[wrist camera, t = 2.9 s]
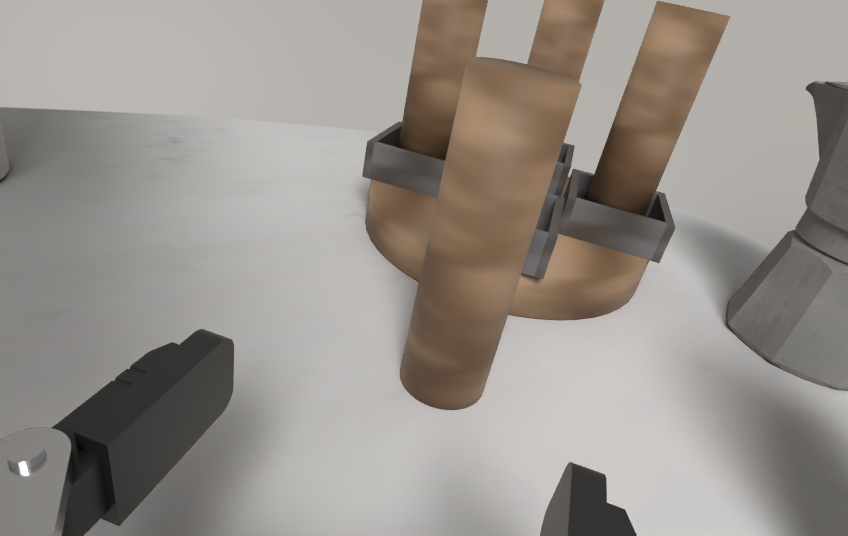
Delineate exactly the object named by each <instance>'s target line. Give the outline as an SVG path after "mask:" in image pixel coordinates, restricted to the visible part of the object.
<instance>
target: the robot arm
mask: <svg viewBox="0 0 848 536" xmlns="http://www.w3.org/2000/svg"><path fill="white" fill-rule="evenodd" d="M9 168H10V165H9V160H8V155H7V150H6V145H5V140H4V135H3V130H2V125H1V120H0V179H2V178H3V177H4V176H5V175H6V174H7V173H8V171H9ZM233 373H234V344H233V341H232V340H231V339H229V338H226V337H223V336H220V335H218V334H215V333H212V332H209V331H206V330H204V329H200V330H198V331H196V332H194V333H193V334H192V335H191V336H190V337H188V338H187V339H186V340H185V341H183V342H182V343H181V344H180V345H178V344H176V343H173V342H172V343H169V344H167V345H164V346H162V347H159V348H157V349H155V350H152V351H150V352H148V353H147V354H145V355H144V356H143V357H142V358H140V359H139V360H138V361H137V362H135V363H134V364H133V365H131V367H130V369H126V370H125V371H124V372H123V373H121V374H120V375H119V376H117V377H116V379H115V381H111V382H110V383H109V384H107V385H106V386H105V387H103V388H102V389H101V390H100V391H98V392H97V393H96V394H95V395H93V396H92V397H91V398H89V399H88V400H87V401H86V402H84V403H83V404H82V405H81V406H79V407H78V408H77V409H75V410H74V411H73V412H72V413H70V414H69V415H68V416H67V417H65V418H64V419H63V420H61V421H60V422H59V423H58V424H56V425H55V426H53V427H52V428H32V429H26V430H23V431H19V432H17V433H14V434H11V435H9V436H7V437H5V438H4V439H2V440H0V536H88V531H89V530H90V529H91V528H92V526H93V525H94V524H95V523H96V522H97V521H98V520H99V519H100V518H102V519H104V520H106V521H109V522H111V523H113V524H115V525H118V526H120V525H121V524H122V523H123V521H124V520H125V519H126V518H127V517H128V516H129V515H130V514H131V513H132V512H133V510H134V509H135V508H136V507H137V506H138V505H139V504H140V503H141V502H142V501H143V499H144V498H145V497H146V496H147V495H148V494H149V493H150V492H151V491H152V490H153V488H154V487H155V486H156V485H157V484H158V483H159V482H160V481H161V480H162V479H163V478H164V476H165V475H166V474H167V473H168V472H169V471H170V470H171V469H172V468H173V467H174V465H175V464H176V463H177V462H178V461H179V460H180V459H181V458H182V457H183V456H184V454H185V453H186V452H187V451H188V450H189V449H190V448H191V447H192V446H193V445H194V443H195V442H196V441H197V440H198V439H199V438H200V437H201V436H202V435H203V434H204V432H205V431H206V430H207V429H208V428H209V427H210V426H211V425H212V424H213V423H214V422H215V420H216V419H217V418H218V417H219V416H220V415H221V414H222V413H223V411H224V410H225V408H226V407H227V405H228V403H229V401H230V398H231V396H232V392H233ZM540 536H637V535H636V533H635V531H634V528H633V526H632V524H631V522H630V520H629V517H628V515H627V513H626V511H625V509H622V508H619V507H617V506H614V505H611V504H609V503H607V490H606V476H605V475H604V474H602V473H599V472H597V471H594V470H591V469H588V468H585V467H583V466H580V465H577V464H574V463H571V462H569V463H568V465H567V467H566V469H565V471H564V473H563V475H562V477H561V479H560V482H559V484H558V486H557V488H556V490H555V492H554V494H553V497H552V499H551V501H550V503H549V505H548V508H547V510H546V513H545V516H544V520H543V524H542V528H541V533H540Z"/></svg>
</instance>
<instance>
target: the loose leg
mask: <svg viewBox="0 0 848 536" xmlns="http://www.w3.org/2000/svg"><path fill="white" fill-rule="evenodd" d="M580 89H581V84H580V83H579V82H577V81H576V80H574V79H572V78H569V77H567V76H564V75H562V74H559V73H556V72H553V71H550V70H546V69H543V68H539V67H535V66H531V65H527V64H522V63H518V62H513V61H507V60H502V59H494V58H486V57H471V58H468V59H467V62H466V67H465V72H464V76H463V81H462V86H461V90H460V95H459V100H458V104H457V109H456V114H455V118H454V123H453V128H452V132H451V137H450V141H449V146H448V151H447V155H446V160H445V165H444V169H443V174H442V179H441V183H440V188H439V193H438V197H437V202H436V206H435V211H434V216H433V220H432V225H431V230H430V234H429V239H428V244H427V248H426V253H425V258H424V262H423V267H422V272H421V276H420V281H419V285H418V290H417V295H416V299H415V304H414V309H413V313H412V318H411V323H410V327H409V332H408V337H407V341H406V346H405V351H404V355H403V360H402V364H401V369H400V378H401V381H402V384H403V386H404V387H405V389H406V390H407V391H408V392H409V393H410V394H411V395H412V396H413V397H414V398H416V399H417V400H419V401H420V402H422V403H424V404H426V405H429V406H432V407H435V408H439V409H446V410H457V409H463V408H466V407H469V406H471V405H473V404H474V403H476V402H477V401H478V400H479V399H480V397H481V396H482V393H483V390H484V387H485V384H486V381H487V378H488V375H489V372H490V369H491V366H492V362H493V359H494V356H495V353H496V350H497V347H498V344H499V341H500V338H501V334H502V331H503V328H504V325H505V322H506V319H507V316H508V313H509V310H510V306H511V303H512V300H513V297H514V294H515V291H516V288H517V285H518V282H519V279H520V275H521V272H522V269H523V266H524V263H525V260H526V257H527V254H528V251H529V247H530V244H531V241H532V238H533V235H534V232H535V229H536V226H537V223H538V219H539V216H540V213H541V210H542V207H543V204H544V201H545V198H546V195H547V192H548V188H549V185H550V182H551V179H552V176H553V173H554V170H555V167H556V164H557V160H558V157H559V154H560V151H561V148H562V145H563V142H564V139H565V136H566V132H567V129H568V126H569V123H570V120H571V117H572V114H573V111H574V107H575V104H576V101H577V98H578V95H579V92H580Z"/></svg>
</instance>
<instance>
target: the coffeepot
mask: <svg viewBox="0 0 848 536" xmlns="http://www.w3.org/2000/svg"><path fill="white" fill-rule="evenodd" d="M806 90H807V91H808V92H810V94H811V95H812V96H813V99H814V105H815V111H816V117H817V129H818V143H819V157H820V160H819V162H818V165H817V168H816V170H815V173H814V175H813V178H812V181H811V183H810V186H809V189H808V191H807V194H806V196H805V197H806V198H805V201H806V205H807V207H808V208H807V209H806V211H805V213H804V215H803V216H802V218H801V219H800V221H799V223H798V224H797V226H796V230H793V231H789V232H787V234H786V235H785V236H784V237H783V238H782V240H781V241H780V242H779V243H778V244H777V245H776V247H775V248H774V249H773V250H772V251H771V253H770V254H769V255H768V256H767V257H766V258H765V260H764V261H763V262H762V263H761V264H760V266H759V267H758V268H757V269H756V270H755V271H754V273H753V274H752V275H751V276H750V277H749V279H748V280H747V281H746V282H745V283H744V285H743V286H742V287H741V288H740V289H739V290H738V292H737V293H736V294H735V295H734V296H733V298H732V299H731V300H730V301H729V309H728V313H727V321H728V325H729V326H730V328H731V329H732V331H733V332H734V333H735V334H736V336H737V337H738V338H739V339H740V340H741V341H742V342H743V343H744V344H745V345H747V346H748V347H749V348H750V349H752V350H753V351H754V352H756V353H757V354H758V355H760V356H761V357H763V358H764V359H766V360H767V361H769V362H771V363H772V364H774V365H776V366H778V367H780V368H781V369H783V370H785V371H787V372H789V373H791V374H794V375H796V376H798V377H800V378H802V379H805V380H808V381H811V382H813V383H816V384H819V385H823V386H826V387H830V388H834V389H840V390H846V391H848V82H819V81H816V82H813V83H811V84H809V85H808V86H807V87H806Z"/></svg>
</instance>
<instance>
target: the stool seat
mask: <svg viewBox="0 0 848 536" xmlns="http://www.w3.org/2000/svg"><path fill="white" fill-rule="evenodd" d="M487 3H488V0H423V2H422V8H421V14H420V20H419V26H418V32H417V38H416V44H415V50H414V56H413V62H412V67H411V74H410V79H409V86H408V91H407V97H406V103H405V109H404V116H403V121H402V122H398V123H396V124H394V125H393V126H392V127H390V128H388V129H387V130H385V131H383V132H382V133H380V134H378V135H377V136H375V137H374V138H372V139H370V140H369V141H367V147H366V154H365V161H364V168H363V176H362V177H365V178H369V179H371V186H370V193H369V200H368V207H367V213H366V221H365V223H366V229H367V232H368V234H369V237H370V239H371V241H372V242H373V244H374V245H375V246H376V248H377V249H378V250H379V251H380V252H381V253H382V255H383V256H384V257H385V258H386V259H387V260H389V261H390V262H391V263H392V264H393V265H395V266H396V267H397V268H398V269H400V270H401V271H403V272H404V273H406V274H407V275H409V276H410V277H412V278H413V279H415V280H417V281H418V282H419V281H420V276H421V272H422V267H423V262H424V258H425V253H426V248H427V244H428V239H429V234H430V230H431V225H432V220H433V216H434V211H435V206H436V202H437V197H438V193H439V188H440V183H441V179H442V174H443V169H444V165H445V160H446V155H447V151H448V146H449V141H450V137H451V132H452V128H453V123H454V118H455V114H456V109H457V104H458V100H459V95H460V90H461V86H462V81H463V76H464V72H465V67H466V62H467V59H468V58H471V57H475V56H476V52H477V48H478V43H479V39H480V34H481V29H482V25H483V21H484V16H485V12H486V7H487ZM603 3H604V0H544V4H543V8H542V11H541V15H540V19H539V23H538V26H537V30H536V34H535V38H534V41H533V45H532V49H531V53H530V57H529V60H528V64H527V65H531V66H535V67H539V68H543V69H546V70H550V71H553V72H556V73H559V74H562V75H564V76H567V77H569V78H572V79H574V80H576V81H577V82H579V79H580V76H581V73H582V70H583V66H584V63H585V60H586V57H587V54H588V51H589V47H590V44H591V41H592V38H593V35H594V32H595V29H596V25H597V22H598V19H599V16H600V13H601V10H602V6H603ZM729 18H730V16H726V15H721V14H717V13H713V12H708V11H703V10H698V9H694V8H689V7H685V6H680V5H675V4H670V3H665V2H661V1H657V3H656V6H655V8H654V11H653V14H652V17H651V20H650V22H649V25H648V28H647V30H646V33H645V36H644V39H643V41H642V44H641V47H640V50H639V53H638V56H637V58H636V61H635V64H634V66H633V69H632V72H631V75H630V78H629V80H628V83H627V86H626V88H625V91H624V94H623V97H622V100H621V102H620V105H619V108H618V111H617V113H616V116H615V119H614V122H613V124H612V127H611V130H610V133H609V136H608V138H607V141H606V144H605V147H604V149H603V152H602V155H601V158H600V161H599V163H598V166H597V169H596V172H595V174H591V173H587V172H583V171H580V170H576V169H573V171H572V174H571V176H570V178H569V177H567V176H568V173H569V170H570V167H571V162H572V156H573V151H574V145H570V144H566V143H563V145H562V148H561V151H560V154H559V157H558V160H557V164H556V167H555V170H554V173H553V176H552V179H551V182H550V185H549V188H548V192H547V195H546V198H545V201H544V204H543V207H542V210H541V213H540V216H539V219H538V223H537V226H536V229H535V232H534V235H533V238H532V241H531V244H530V247H529V251H528V254H527V257H526V260H525V263H524V266H523V269H522V272H521V275H520V279H519V282H518V285H517V288H516V291H515V294H514V297H513V300H512V303H511V306H510V310H509V313H508V314H510V315H515V316H521V317H528V318H535V319H549V320H577V319H585V318H592V317H597V316H601V315H604V314H608V313H610V312H613V311H615V310H617V309H619V308H621V307H622V306H623V305H625V304H626V303H628V302H629V300H630V299H631V298H632V296H633V295H634V293H635V291H636V289H637V286H638V284H639V282H640V280H641V277H642V275H643V273H644V271H645V269H646V266H647V264H648V262H649V260H650V261H653V262H657V263H659V262H660V260H661V258H662V255H663V253H664V251H665V249H666V247H667V245H668V243H669V240H670V238H671V236H672V234H673V232H674V230H675V225H674V222H673V219H672V215H671V212H670V209H669V206H668V203H667V199H666V196H665V194H664V193H661V192H657V191H656V189H657V187H658V185H659V182H660V180H661V177H662V175H663V173H664V170H665V168H666V166H667V163H668V161H669V159H670V156H671V154H672V152H673V149H674V147H675V145H676V142H677V140H678V138H679V135H680V133H681V130H682V128H683V126H684V124H685V121H686V119H687V117H688V114H689V112H690V109H691V107H692V105H693V102H694V100H695V98H696V95H697V93H698V91H699V88H700V86H701V84H702V81H703V79H704V77H705V74H706V72H707V70H708V67H709V65H710V63H711V60H712V58H713V56H714V53H715V51H716V49H717V46H718V44H719V42H720V39H721V37H722V34H723V32H724V30H725V28H726V25H727V23H728V20H729Z"/></svg>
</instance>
